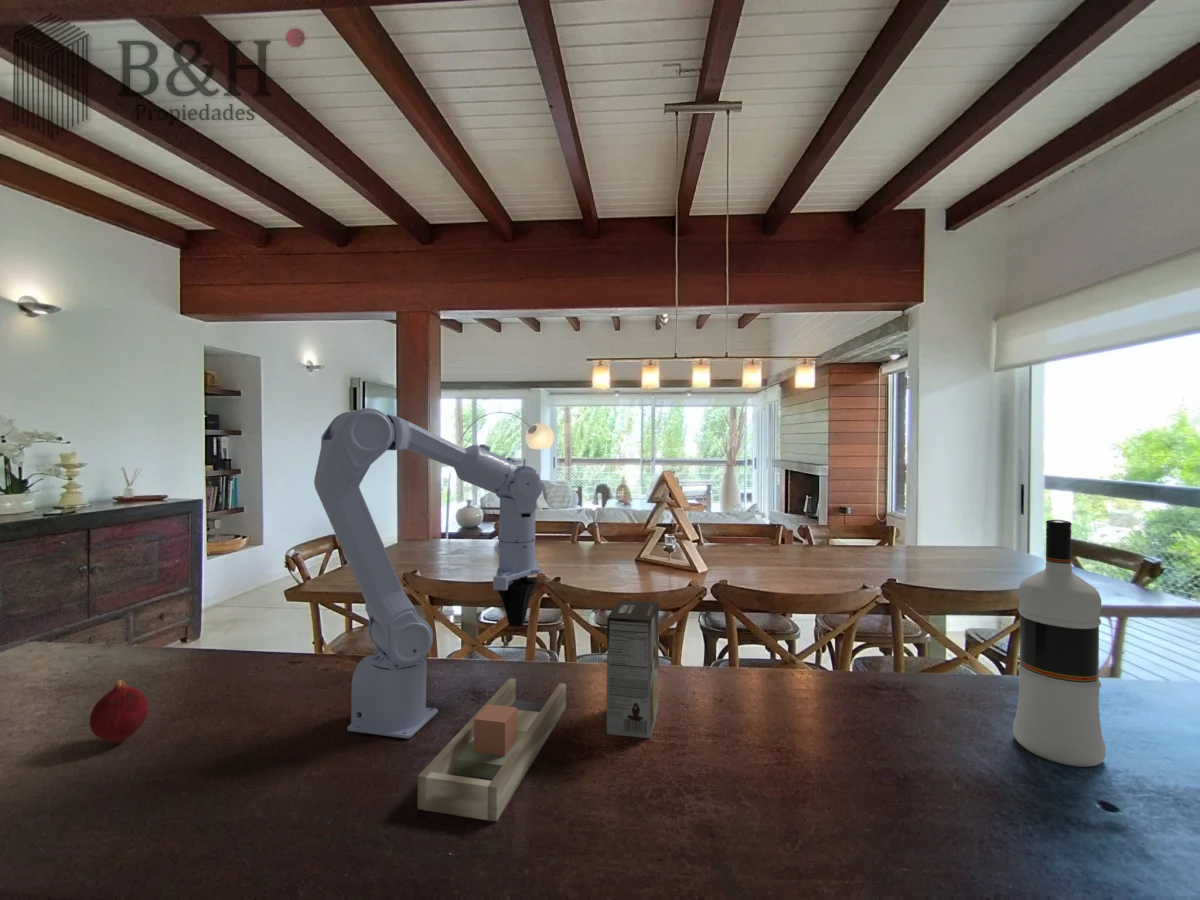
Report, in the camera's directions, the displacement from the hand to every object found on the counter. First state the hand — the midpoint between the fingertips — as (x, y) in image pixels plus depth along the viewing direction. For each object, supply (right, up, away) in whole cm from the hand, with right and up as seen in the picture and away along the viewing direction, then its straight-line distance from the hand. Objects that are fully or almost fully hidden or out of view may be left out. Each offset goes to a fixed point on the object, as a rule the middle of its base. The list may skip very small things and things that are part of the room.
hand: (516, 624), depth 89 cm
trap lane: (+1, -10, -18) cm, 21 cm away
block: (+1, -8, -21) cm, 22 cm away
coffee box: (+18, -11, -10) cm, 23 cm away
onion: (-49, -10, -17) cm, 53 cm away
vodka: (+73, -11, -17) cm, 76 cm away
